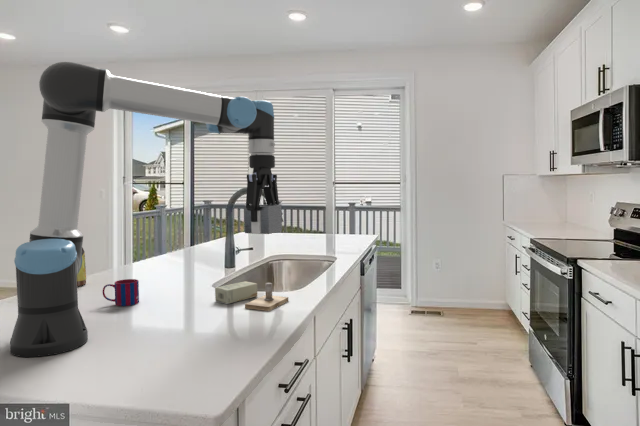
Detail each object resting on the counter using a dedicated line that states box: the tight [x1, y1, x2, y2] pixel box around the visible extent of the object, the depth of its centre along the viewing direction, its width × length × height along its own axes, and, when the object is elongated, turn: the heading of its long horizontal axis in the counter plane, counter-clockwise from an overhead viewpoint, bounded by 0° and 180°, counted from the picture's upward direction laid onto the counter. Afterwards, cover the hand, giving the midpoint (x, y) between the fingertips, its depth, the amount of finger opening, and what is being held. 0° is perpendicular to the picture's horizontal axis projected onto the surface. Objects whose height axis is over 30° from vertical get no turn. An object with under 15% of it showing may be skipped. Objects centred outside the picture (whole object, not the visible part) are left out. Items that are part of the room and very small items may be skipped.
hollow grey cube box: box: [243, 204, 283, 235], centre depth 136 cm, size 8×8×8 cm
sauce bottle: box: [77, 229, 87, 287], centre depth 164 cm, size 6×6×20 cm
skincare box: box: [214, 280, 258, 305], centre depth 144 cm, size 6×4×12 cm
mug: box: [102, 278, 140, 307], centre depth 139 cm, size 7×10×7 cm
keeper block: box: [244, 282, 289, 312], centre depth 137 cm, size 12×8×6 cm, turn 156°
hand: (263, 231), depth 137 cm, fingers closed on hollow grey cube box, 8 cm apart
